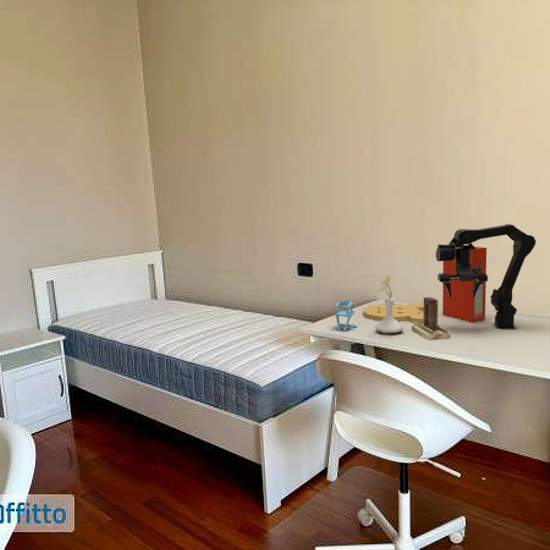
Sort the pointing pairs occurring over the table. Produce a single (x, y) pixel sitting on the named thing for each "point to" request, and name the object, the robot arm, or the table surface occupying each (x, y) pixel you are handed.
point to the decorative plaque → (396, 312)
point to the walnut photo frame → (431, 313)
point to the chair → (344, 314)
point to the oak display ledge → (430, 332)
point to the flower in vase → (388, 311)
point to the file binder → (466, 290)
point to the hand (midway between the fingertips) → (461, 297)
